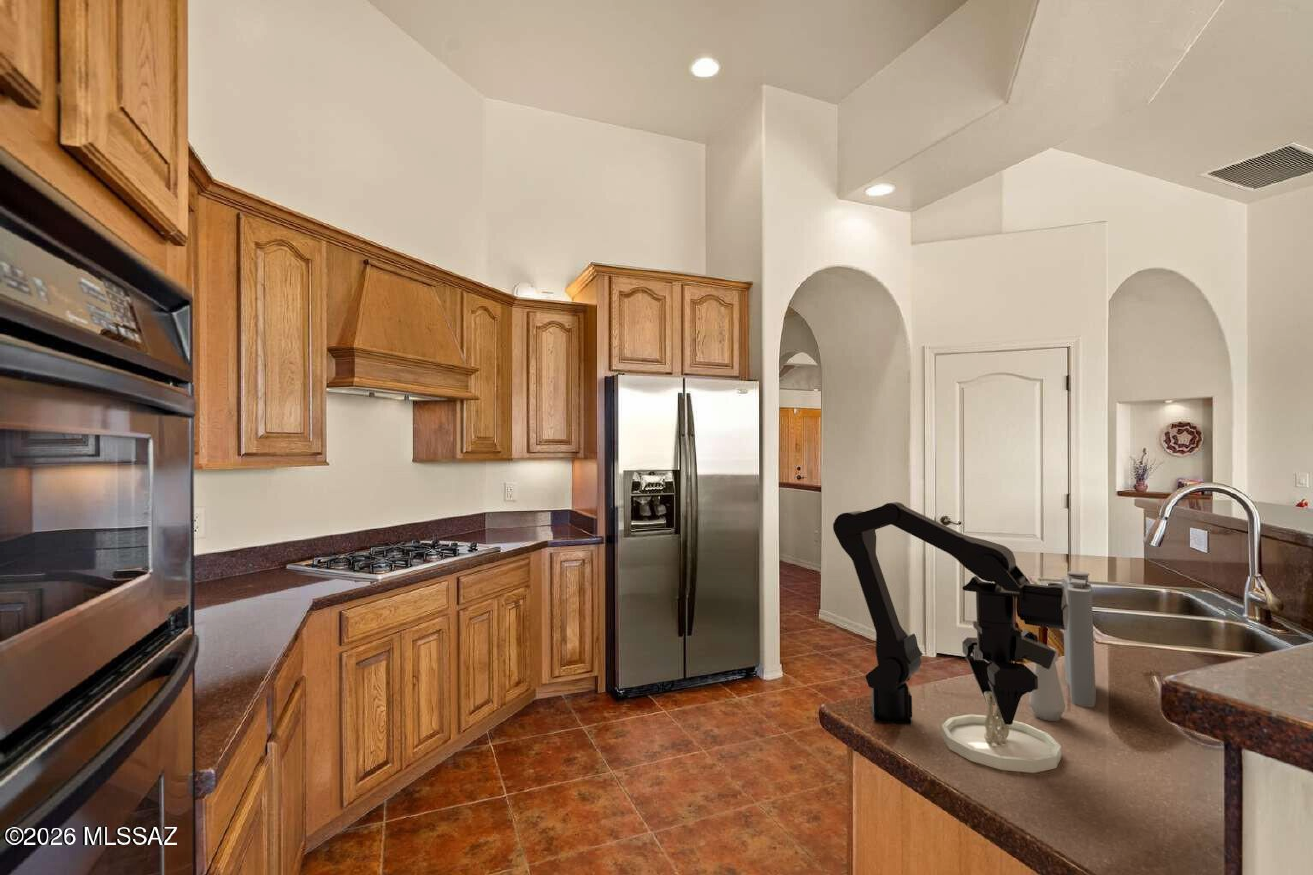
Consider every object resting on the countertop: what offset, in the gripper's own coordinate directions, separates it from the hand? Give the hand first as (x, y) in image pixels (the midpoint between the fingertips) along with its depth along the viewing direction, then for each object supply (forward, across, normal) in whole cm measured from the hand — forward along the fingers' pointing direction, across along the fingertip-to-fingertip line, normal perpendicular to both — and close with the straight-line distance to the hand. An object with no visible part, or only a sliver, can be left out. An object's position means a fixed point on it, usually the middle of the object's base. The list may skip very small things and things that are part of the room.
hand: (998, 712), depth 103 cm
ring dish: (+6, 0, 0) cm, 6 cm away
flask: (+6, +30, -25) cm, 39 cm away
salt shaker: (+6, +15, -13) cm, 21 cm away
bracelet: (+5, 0, 0) cm, 5 cm away
